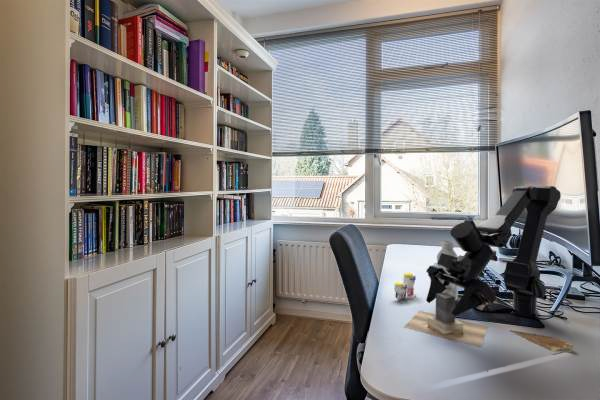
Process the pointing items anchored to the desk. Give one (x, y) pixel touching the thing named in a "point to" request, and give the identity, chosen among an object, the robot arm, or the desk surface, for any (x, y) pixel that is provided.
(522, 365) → the desk surface
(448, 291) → the plastic bottle
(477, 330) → the oak board
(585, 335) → the desk surface
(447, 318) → the grey block on base
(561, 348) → the shard
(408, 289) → the toy figures
